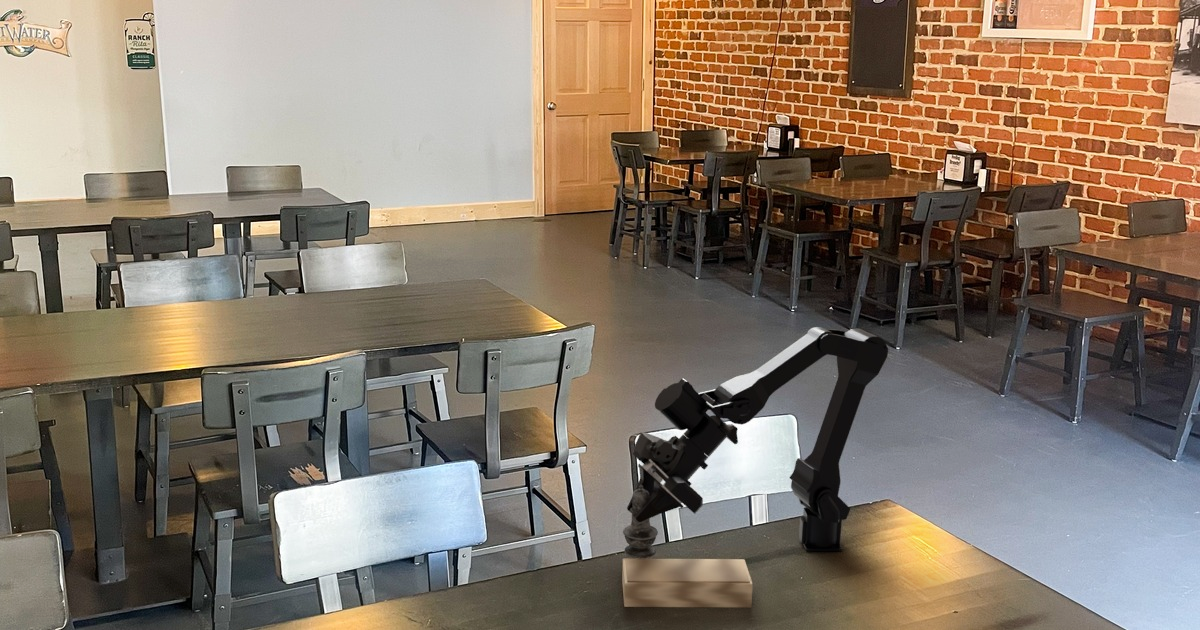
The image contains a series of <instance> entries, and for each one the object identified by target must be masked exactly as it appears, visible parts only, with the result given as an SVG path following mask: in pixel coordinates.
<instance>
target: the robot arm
mask: <svg viewBox="0 0 1200 630" xmlns="http://www.w3.org/2000/svg"><path fill="white" fill-rule="evenodd" d="M827 355H829V356H835V357H836V366H837V374H838V375H837V380H836V383H835V385H834V389H833V391H832V394H831V397H830V400H829V403H828V407H827V409H826V413H825V414H824V418H823V420H822V423H821V426H820V428H819V432H818V435H817V437H816V440H815V443H814V447H813V450H812V451H811V453H810V454H809V455H808V456H807V457H806V458H804V459H802V458H800V457H797V459H796V461H795V464H794V470H793V471H792V473H791V475H790V476H789V479H790V481H791V482H790V487H791V488H790V489H792V492H793V494H794V495H795V497H797V498H798V500H799V504H800V505H802V506H804V507H803V512H802V513H803V514H802V515H801V516H800V517H799V529H798V530H799V531H798V539H799V540H800V542H801V544H802V545H803V547H804V549H805V550H806V551H807V552H842V551H843V549H844V548H843V546H842V544H841V539H842V538H841V537H842V536H841V535H842V525H843V524H842V523H843V521H845V520H847V518H848V516H849V513H850V511H851V508H850V506H848V504H847V503H845V502H844V500H842V499H841V498H840V497H839V492H840V487H841V481H842V480H841V471H840V462H841V458H842V455H843V452H844V449H845V447H846V443H847V440H848V438H849V435H850V432H851V430H852V427H853V423H854V420H855V418H856V415H857V412H858V409H859V406H860V404H861V401H862V399H863V395H864V392H865V390H866V387H867V386H868V385H869V384H870V383H871V382H872V381H873V380H874V379H875V378H876V377H877V376H878V375H879V374H880V372H881V370H882V368H883V367H884V364H885V362H886V361H887V359H888V356H889V347H888V346H887V343H886V341H885V340H884V339H883V337H882V338H881V337H879V336H877V335H875V334H872V333H871V332H868V331H866V330H864V329H862V328H858V327H857V328H851V329H849V330H848V331H846V330H840V329H836V328H835V329H834V328H823V327H821V326H815V327H811V328H810V329H809V330H808V331H807V332H806V334H805V335H803V336H802V337H800V338H798V339H797V341H795V342H793V343H792V344H790V345H789V346H787V348H785V349H783V350H782V351H781V352H779V353H778V354H777V355H775V356H774V357H772V358H770V360H768V361H767V362H765V363H764V364H763V365H761V366H759V367H758V368H757V369H755V370H753V371H752V372H748V373H745V374H742V375H737V376H735V377H733V378H730V379H728V380H726V381H725V382H723V383H721V384H719V385H718V386H717V387H716V388H715V389H710V390H706V391H701V392H697V390H695V388H694V387H693V385H692V384H691V383H690V382H689V381H688V380H686V379H685V378H681V379H679V381H678V382H676V383H672V384H670V385H669V386H667V387H666V388H665V387H664V388H663V389H662V390H661V391H660V393H659V394H658V395H657V397H656V399H655V402H654V408H655V409H656V410H657V411H658V412H659V413H660V414H661V415H662V416H663V417H664V418H666V419H667V421H669V422H670V423H671V424H672V425H673V426H674V427H675V428H676V429H677V430H679V431H685V430H686V431H685V432H684V433H683V434H682V435H681V436H680V437H679V438H678V436H676V435H674V436H672V437H670V438H669V439H668V440H666V439H663V438H660V437H658V436H656V435H653V434H650V433H647V432H645V431H640V433H639V435H638V438H637V440H636V442H635V444H634V447H633V450H634V451H633V452H632V455H633V456H634V457H635V458H636V459H637V460H638V461H639V462H641V463H642V464H643V465H641V464H640V463H638V464H637V466H638V467H637V468H639V481H638V483H637V485H636V488H635V490H637V489H639V488H640V487H639V486H640V485H642V486H643V489H645V490H647V491H648V492H649V495H650V496H649V499H648V500H647V501H646V503H645V504H644V505H643V507H642V508H641V509H640V511H639V512H638V514H637V515H636V517H635V519H636V520H637V521H638V522H642V521H644V520H647V519H649V518H650V519H651V518H654V517H655V516H658V515H661V514H663V513H666V512H669V511H672V510H675V509H678V508H680V509H683V508H684V506H685V507H686V508H687V509H689V511H690V512H692V513H693V514H696V513H697V512H699V511H700V509H701V508H702V507H703V503H704V498H703V497H702V496H701V495H700V494H699V493H698V492H697V490H695V489H694V488H693V487H692V486H691V485H692V482H690V479H691V478H692V477H693V475H694V474H695V473H696V472H697V471H698V470H699V469H700V468H702V469H703V470H706V469H707V468H708V466H709V465H708V464H707V462H706V461H707V460H708V459H709V458H710V457H711V456H712V455H713V453H714V452H715V451H716V450H717V448H719V447H720V446H721V444H723V442H724V441H725V440H726V439H727V440H729V442H731V443H732V444H734V445H737V444H738V443H739V440H738V429H739V428H738V427H737V426H735V425H734V424H736V425H741V426H742V425H745V424H747V423H749V422H751V420H753V419H754V418H755V417H756V416H757V415H758V414H759V413H760V412H761V411H763V409H764V408H765V406H766V404H767V403H768V400H769V398H770V397H771V396H772V395H773V394H774V393H776V391H778V390H780V388H782V387H784V386H785V385H786V384H787V383H789V382H790V381H792V380H793V379H794V378H796V377H797V376H799V375H800V374H802V373H803V372H804V371H805V370H807V369H809V368H810V367H811V366H813V365H815V364H816V363H817V362H819V360H821V359H823V357H825V356H827ZM707 411H710V412H711V413H712V414H713V415H709V414H708V413H707ZM723 419H726V420H728V421H729V422H730V423H731V424H727V423H726V422H725V421H724V420H723ZM663 481H664V483H663V484H662V482H663ZM631 508H632V497H631V498H630V501H629V503H628V505H627V507H626V510H627V511H628V512H629V513H631V512H630V509H631Z"/></svg>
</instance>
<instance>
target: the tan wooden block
mask: <svg viewBox="0 0 1200 630" xmlns="http://www.w3.org/2000/svg"><path fill="white" fill-rule="evenodd" d="M621 573H622V575H621V576H622V577H621V580H622V581H621V582H622V593H623V594H622V595H623V605H624V606H623V607H626V608H627V607H628V608H629V607H631V608H632V607H633V608H642V607H643V608H752V600H753V599H752V598H753V580H752V578H751V574H750V572H749V569H748V566H747V563H746V560H745V559H744V558H742V559H741V558H740V559H739V558H736V559H735V558H734V559H733V558H622V571H621Z"/></svg>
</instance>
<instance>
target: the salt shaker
mask: <svg viewBox="0 0 1200 630" xmlns="http://www.w3.org/2000/svg"><path fill="white" fill-rule="evenodd" d="M639 487H640V488H639V489H637V490H636V489H635V490H633V492H632V494H631V495H632V496H631V498H632V508H631V509H630V512H629V513H631V523H630V525H628V526H626V527H624V528H623V530H622V534H623V535H624V538H625V541H626V543H627V544H628V545H627V546H626V547H625V548H624V549H623V550H624V554H625V555H626V556H628V557H630V558H632V559H649V558H651V557H653V556H654V555H656V552H657V550H656V548H655V547H654V546H653V544H654V543H655V541H656V538H657V536H658V535H659V532H658V531H659V530H658V529H657V528H656V527H654V526H653V525H651V521H650V520H651V518H649V519H647V520H644V521H642V522H638V521H637V520H636V519H635V517H636V515H637V514H638V512H639V511H640V509H641V508H642V507H643V505H644V504H645V503H646V501H647V500H648V499H649V496H650V495H649V492H648V491H647V490H645V489H643V486H642V485H640V486H639Z"/></svg>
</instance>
